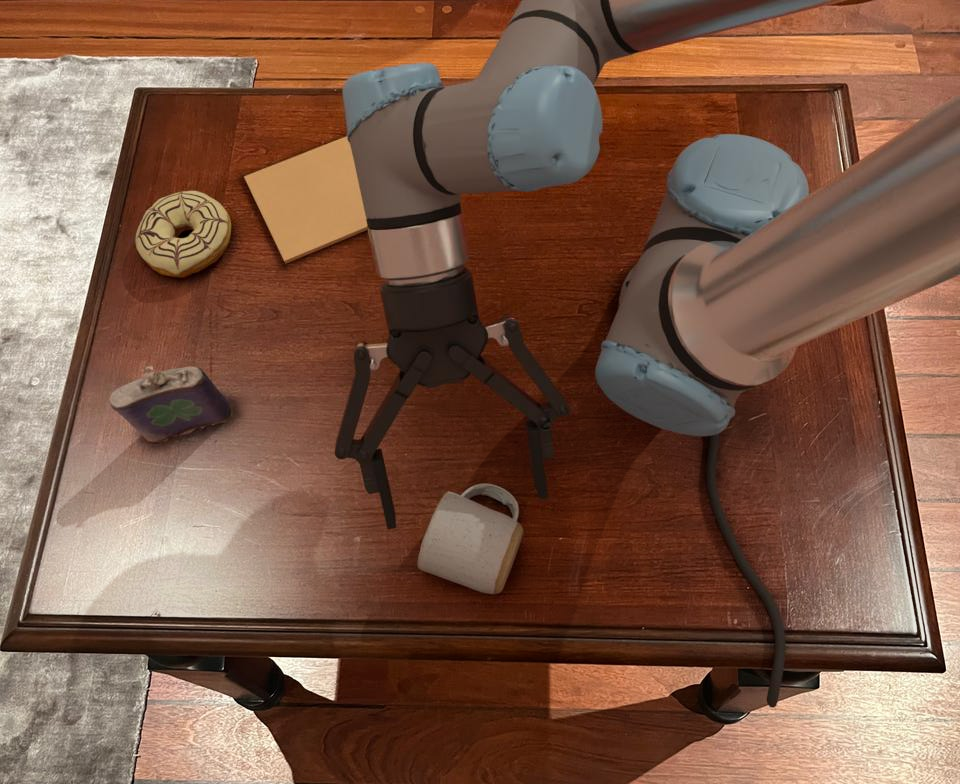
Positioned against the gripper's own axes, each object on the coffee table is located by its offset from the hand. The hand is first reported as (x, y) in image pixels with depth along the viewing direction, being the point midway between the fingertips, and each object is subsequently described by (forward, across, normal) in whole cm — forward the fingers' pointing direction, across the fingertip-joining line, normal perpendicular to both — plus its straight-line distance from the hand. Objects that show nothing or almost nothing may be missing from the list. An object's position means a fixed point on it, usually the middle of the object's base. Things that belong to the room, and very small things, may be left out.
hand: (467, 507), depth 71 cm
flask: (-7, +27, -18) cm, 33 cm away
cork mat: (-26, +10, -36) cm, 45 cm away
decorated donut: (-23, +26, -34) cm, 48 cm away
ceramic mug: (+6, 0, -4) cm, 8 cm away
